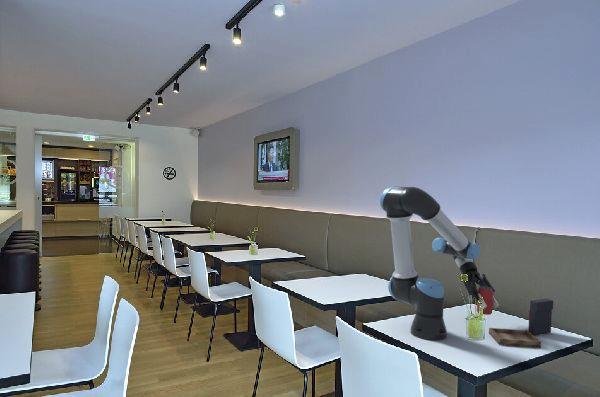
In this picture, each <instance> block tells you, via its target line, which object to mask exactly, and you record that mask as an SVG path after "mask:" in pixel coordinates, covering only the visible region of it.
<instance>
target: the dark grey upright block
mask: <svg viewBox="0 0 600 397" xmlns="http://www.w3.org/2000/svg"><path fill="white" fill-rule="evenodd" d="M553 309H554V300H552V299H549V298H541V299H540V298H539V299H533V300H530V301H529V311H528V329H527V330H528V331H529V332H530V333H531V334H532V335H534V336H535V337H537V336H542V335H543V336H544V335H546V334H547V335H548V334H551V332H552V311H553Z"/></svg>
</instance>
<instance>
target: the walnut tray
mask: <svg viewBox="0 0 600 397" xmlns="http://www.w3.org/2000/svg"><path fill="white" fill-rule="evenodd" d="M528 330H529V329H525V330H524V329H511V328H510V329H509V328H501V327H500V328H498V327H488V334H489V336H490V337H491V338H492V339H493V340H494V341H495V342H496V343H497V344H498V346H506V347H507V346H509V347H520V348H521V347H523V348H534V349H542V341H541V340H540V339H538V338H537V336H534V335H532V334H531V333H530V332H529V331H528Z"/></svg>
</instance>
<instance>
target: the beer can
mask: <svg viewBox="0 0 600 397" xmlns="http://www.w3.org/2000/svg"><path fill="white" fill-rule="evenodd" d="M477 292H478V294H480V295H481V297H483V300H484V302H485V303H486V305H487V307H486V308H484V309H483V314H482V315H486V316H488V315H489V316H490V315H491V314H493V295H494V293H493V290H492V288H491V287H487V286H479V285H478V289H477ZM476 312H477V314H480V313H479V304H478V302H477V301H476Z"/></svg>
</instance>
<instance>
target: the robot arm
mask: <svg viewBox="0 0 600 397" xmlns="http://www.w3.org/2000/svg"><path fill="white" fill-rule="evenodd" d="M379 205H380V207H381V209H382V210H383V211H384V212H386V214H385V215H386V218H387V219H388V220H389V221H390V229H391V241H392V251H393V263H394V271H393V273H392V275H391V277H389V278H390V279H389V281H388V283H387V289H388V292H389V294H390V296H391V297H392V299H394V300H397V301H398V302H401V303H405V304H408V305H410V306H414V307H415V315H414V317H413V319H412V323H411V325H410V334H411V335H413V336H414V337H417V338H420V339H423V340H424V339H425V340H430V341H438V340H444V339H446V338H447V335H448V331H447V327H446V323H445V321H444V306H445V305H444V302H445V287H444V284H443V283H442V282H440V281H438V280H436V279H433V278H428V277H420V278H419V273H418V272H417V270H415V265H414V254H413V244H412V232H411V230H412V229H411V218H412V217H413V216H414V215H416V216H417V217H420V218H421V219H422V220H423V221H426V222H428V223H429V225H430V226H431V227H432V228H434V229H435V231H436V232H437V233H438V234H439V235H440V236H441V237H436V238H435V239H433V240H432V242H431V243H432V244H431V247H432V250H433V252H435V253H438V254H441V255H445V256H446V255H447V256H451V257H452V259H453V260H454V262H455V264H456V265H457V267H458V269H459V271H460V273H461V274H462V275H463V274H467V275H468V281H466V282H465V281H462V282H463V285H464V287H465V289H466V291H467V293H468V295H469V296H471V298H475V301H476V303H477V302H478V300H479V298H480V297H481V295H480V294H478V289H477V285H478V287H479V286H487V287H491V288H492V290H493V305H492V308H493V309H497V308H498V307H499V306H500V304H499V303H498V301H497V299H496V296H495V295H494V293H495V292H496V290H495V288H494V286H492V284H491V283H490V281H489V280H488V278H487V276H486V274H485V273H482V274H481V273H479V272H478V267H477V265H476V264H475V262H474V260H477V259H478V258H479V257H480V255H481V249H482V248H481V246H480V245H479V244H478V243H476V242H471V241H470V240H469V239H468V238H467V237H466V236H465V234H463V232H462V231H461V230H460V229H459V228H458V227H457V226H456V224H455V223H453V221H451V219H450V218H449V217H448V216H447V215H446V213H444V211H443V210H442V209H441V205H440V203H439V202H438V201H437V200H436V199H435V198H434V197H433V196H432V195H431V194H430V193H428V192H426V191H425V190H423V189H421V188H420V187H416V186H391V187H390V186H389V187H387V188H385V189H384V190H383V191H382V193H381V195H380V198H379ZM459 278H460V280H462V279H461V276H460V277H459ZM480 306H481V307H482V308H483V309H484V308H486V307H487V305H486V303H485V302H484V300H483V301H482V304H480Z"/></svg>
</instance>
